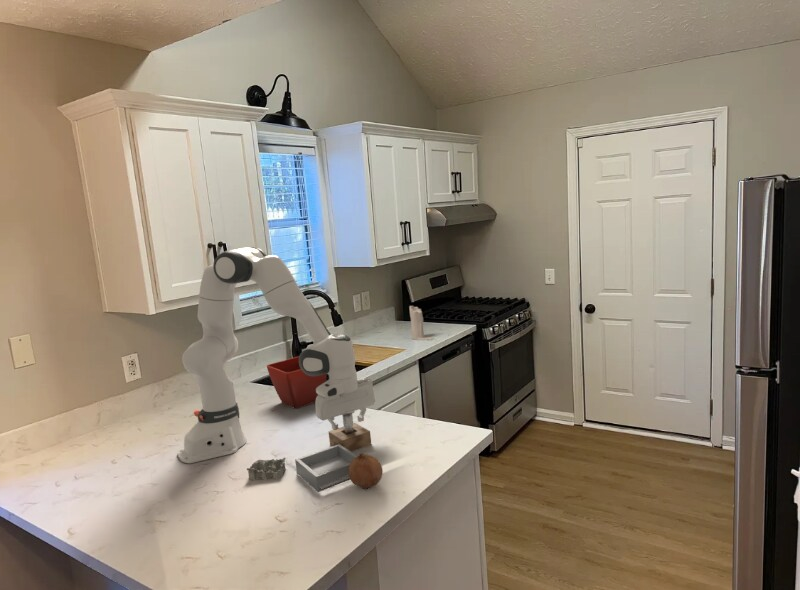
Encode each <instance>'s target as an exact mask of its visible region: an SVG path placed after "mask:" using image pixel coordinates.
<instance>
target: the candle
mask: <svg viewBox="0 0 800 590" xmlns="http://www.w3.org/2000/svg"><path fill="white" fill-rule="evenodd" d="M423 316H424V315H423V311H422V308H419V307H418V306H414V305H409V317H410V324H411V325H410V326H411V328H410V329H411V339H412V340H415V341H417V340H419V341H429V340H430V341H431V340H434V339H435V338H434V337H431V336H425V332H424V317H423Z"/></svg>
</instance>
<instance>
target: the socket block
mask: <svg viewBox="0 0 800 590" xmlns="http://www.w3.org/2000/svg"><path fill="white" fill-rule="evenodd" d="M353 425H354V433H351V434H348V435H346V434H344V426H342V427H338V429H337V430H333V429H331V430H329V431H328V439H329V440H328V442H329V445H330V447H332V446H335V445H338V444H340V445H342V446H343V447H345V448H346V449H348V450H349V451H351V452H352V453H353V452H354V451H357V450H360V449H363V448H365V447H368V446H371V445H372V437H371V431H370V430H369V429H368V428H365V427H363V426H362V425H360V424H358V423H356V422H353Z"/></svg>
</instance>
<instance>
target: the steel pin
mask: <svg viewBox="0 0 800 590" xmlns="http://www.w3.org/2000/svg"><path fill="white" fill-rule="evenodd" d="M354 413H355V411H354V409H353V410H350V411H347V412H345V414H343V415H341V416H342V424H343V427H344V434H346V435H348V434H351V433H354V425H353V423H354V419H353V414H354Z"/></svg>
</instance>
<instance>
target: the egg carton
mask: <svg viewBox="0 0 800 590" xmlns="http://www.w3.org/2000/svg"><path fill="white" fill-rule="evenodd" d="M285 462H286V457H283V458H279V459H278V458H276V459H274V458H272V459H265V460H264V459H258V460H256V461H254V462H253V463H252V464H251V466H250V467H247V468H246V471H247V472H248V480H251V481H256V480H258V479H262V480H263V481H264V480H268V479H270V478H273V479H274V480H277V479H279V478H281V477H283V476H284V473H283V472H285V471H286V463H285ZM260 469H261V470H260ZM266 470H267V471H266Z"/></svg>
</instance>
